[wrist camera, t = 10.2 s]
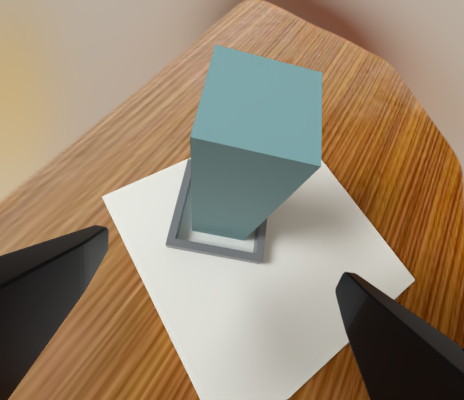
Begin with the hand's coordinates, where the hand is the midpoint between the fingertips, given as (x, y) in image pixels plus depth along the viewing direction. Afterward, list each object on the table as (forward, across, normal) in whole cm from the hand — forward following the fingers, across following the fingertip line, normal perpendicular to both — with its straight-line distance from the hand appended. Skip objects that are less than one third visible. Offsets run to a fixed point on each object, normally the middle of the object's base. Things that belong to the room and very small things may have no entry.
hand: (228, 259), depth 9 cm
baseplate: (+11, -4, +6) cm, 13 cm away
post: (+11, 0, +4) cm, 12 cm away
